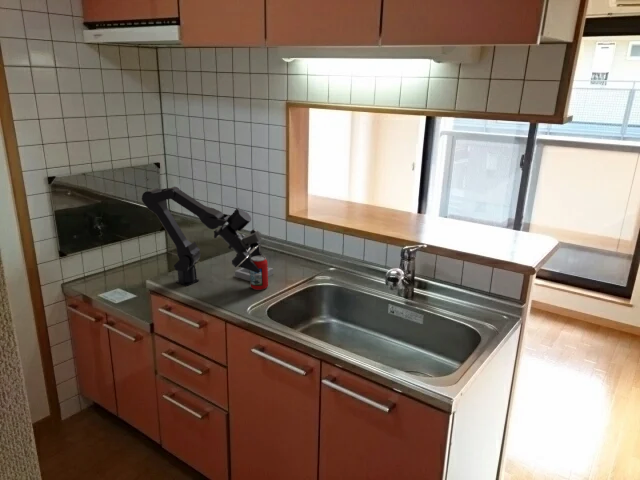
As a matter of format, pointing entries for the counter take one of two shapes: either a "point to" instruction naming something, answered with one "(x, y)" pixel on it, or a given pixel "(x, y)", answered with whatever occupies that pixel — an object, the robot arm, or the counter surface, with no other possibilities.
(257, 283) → the beverage can
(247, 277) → the holder
